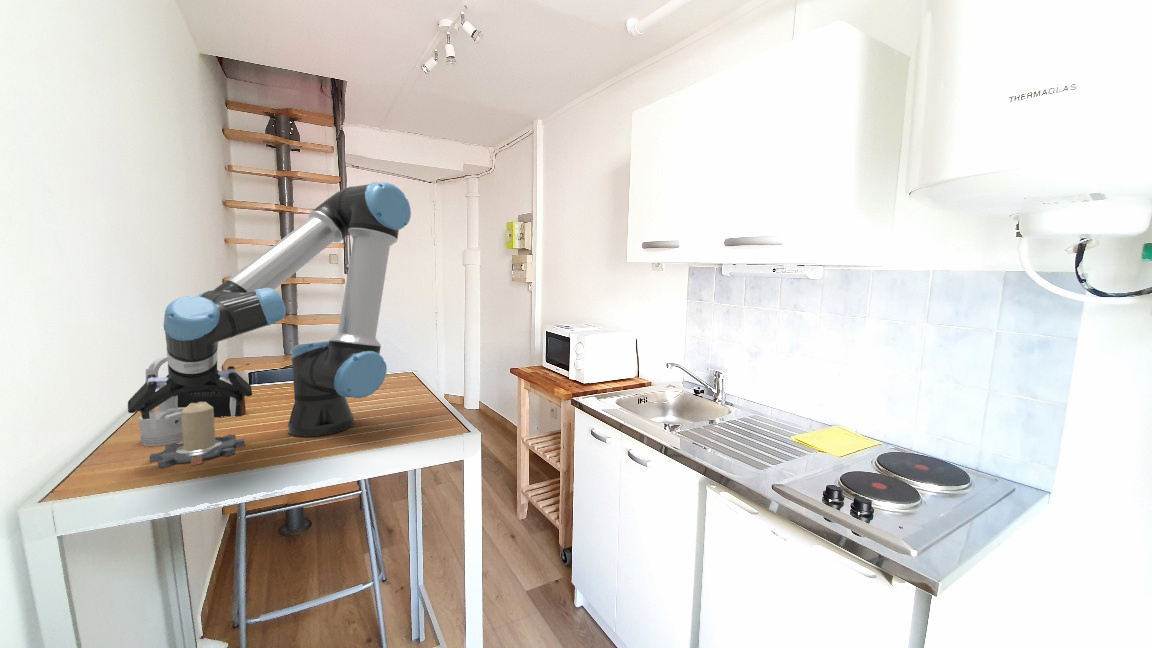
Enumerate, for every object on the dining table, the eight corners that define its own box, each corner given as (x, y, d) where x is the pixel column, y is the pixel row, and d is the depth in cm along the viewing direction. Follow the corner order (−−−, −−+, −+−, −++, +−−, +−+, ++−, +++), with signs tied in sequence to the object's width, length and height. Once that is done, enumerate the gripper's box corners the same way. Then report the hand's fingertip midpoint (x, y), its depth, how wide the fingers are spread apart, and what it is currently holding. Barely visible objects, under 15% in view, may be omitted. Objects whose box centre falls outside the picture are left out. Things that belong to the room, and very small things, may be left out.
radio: (172, 420, 123) (167, 367, 122) (179, 417, 126) (174, 365, 125) (248, 416, 128) (245, 365, 126) (253, 413, 131) (250, 363, 129)
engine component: (129, 444, 106) (163, 447, 104) (121, 359, 104) (155, 361, 102) (178, 429, 116) (210, 432, 114) (172, 352, 114) (204, 353, 112)
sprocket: (262, 441, 108) (261, 436, 108) (195, 470, 92) (194, 463, 92) (203, 437, 110) (203, 432, 110) (128, 464, 94) (128, 458, 94)
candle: (197, 451, 98) (194, 407, 97) (177, 449, 99) (174, 405, 98) (221, 442, 103) (219, 400, 102) (202, 441, 104) (199, 399, 103)
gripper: (101, 385, 78) (116, 445, 90) (271, 367, 95) (263, 419, 107) (101, 352, 81) (115, 414, 94) (265, 340, 98) (258, 394, 111)
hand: (194, 417), depth 101 cm, fingers open, 13 cm apart
